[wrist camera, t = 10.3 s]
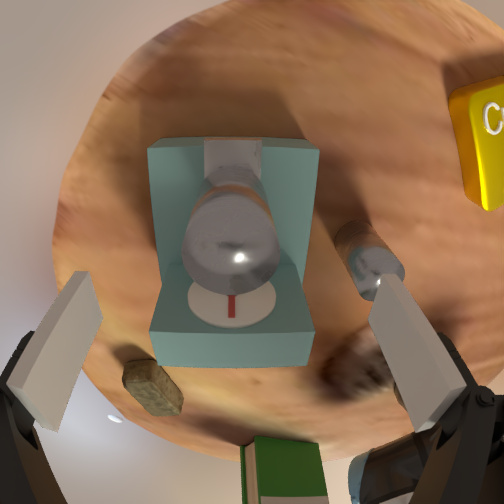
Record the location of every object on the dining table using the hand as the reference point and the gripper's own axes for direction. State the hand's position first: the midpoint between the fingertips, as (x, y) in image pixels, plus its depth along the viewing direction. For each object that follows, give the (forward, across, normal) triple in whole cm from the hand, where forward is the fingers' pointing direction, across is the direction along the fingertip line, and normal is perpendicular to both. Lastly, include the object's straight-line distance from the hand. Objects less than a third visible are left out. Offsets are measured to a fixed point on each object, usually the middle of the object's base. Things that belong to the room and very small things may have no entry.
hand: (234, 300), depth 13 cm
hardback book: (+20, -10, +62) cm, 66 cm away
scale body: (+19, 0, +3) cm, 19 cm away
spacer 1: (+11, 0, -1) cm, 11 cm away
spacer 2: (+19, -14, +7) cm, 25 cm away
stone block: (+20, +13, +33) cm, 40 cm away
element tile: (+20, -32, -9) cm, 39 cm away
